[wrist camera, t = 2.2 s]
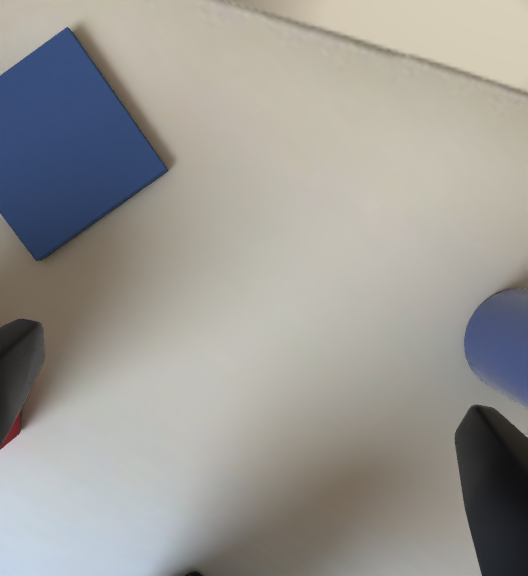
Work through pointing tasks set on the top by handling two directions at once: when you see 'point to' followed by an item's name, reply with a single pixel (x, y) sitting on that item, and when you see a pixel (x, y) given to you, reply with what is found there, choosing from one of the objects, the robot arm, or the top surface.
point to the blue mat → (65, 146)
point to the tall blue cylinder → (501, 343)
